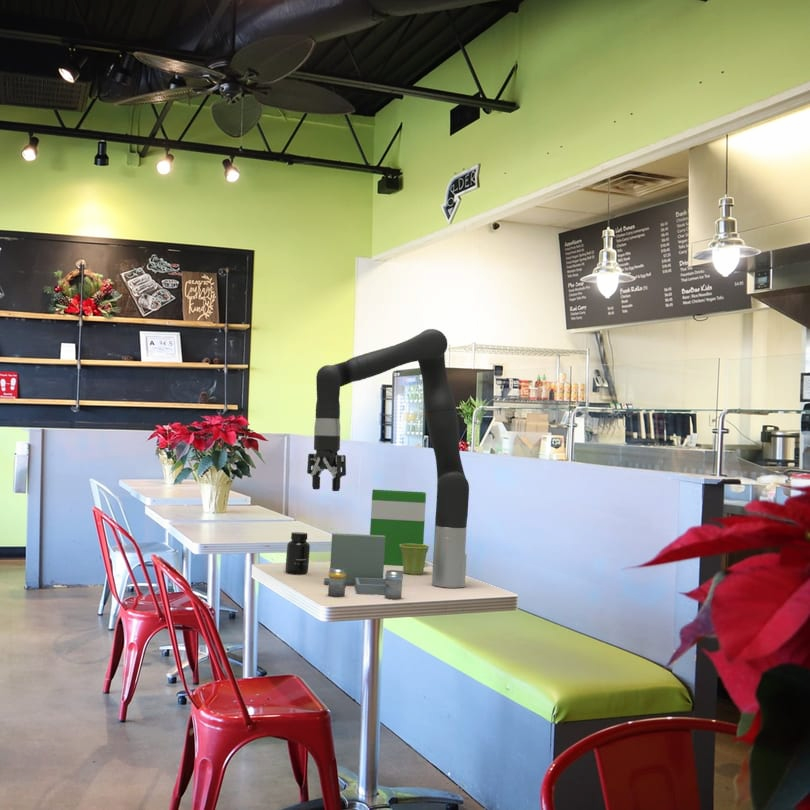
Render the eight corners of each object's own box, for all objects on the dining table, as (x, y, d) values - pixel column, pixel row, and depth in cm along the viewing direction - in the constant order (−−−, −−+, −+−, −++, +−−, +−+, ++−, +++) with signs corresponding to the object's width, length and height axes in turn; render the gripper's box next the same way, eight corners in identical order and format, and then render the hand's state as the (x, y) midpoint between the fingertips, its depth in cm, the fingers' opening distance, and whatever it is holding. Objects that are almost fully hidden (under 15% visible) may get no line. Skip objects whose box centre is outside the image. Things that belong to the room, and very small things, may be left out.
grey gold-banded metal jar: (344, 594, 245) (346, 568, 246) (345, 597, 241) (346, 570, 241) (327, 593, 245) (329, 567, 245) (327, 597, 240) (329, 570, 240)
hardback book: (368, 564, 301) (372, 490, 301) (368, 560, 308) (372, 489, 309) (422, 567, 301) (426, 493, 302) (421, 563, 308) (425, 492, 309)
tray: (393, 588, 259) (394, 579, 259) (397, 595, 248) (397, 586, 248) (354, 586, 258) (355, 577, 258) (356, 593, 247) (357, 584, 247)
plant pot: (401, 575, 281) (403, 547, 282) (395, 570, 291) (396, 543, 291) (431, 576, 284) (432, 547, 284) (423, 571, 293) (425, 543, 293)
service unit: (386, 584, 265) (389, 535, 265) (388, 587, 260) (390, 537, 260) (324, 581, 263) (326, 532, 263) (324, 584, 258) (327, 534, 258)
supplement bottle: (299, 575, 271) (301, 535, 271) (280, 572, 274) (283, 532, 275) (312, 573, 277) (315, 533, 277) (294, 570, 280) (296, 531, 281)
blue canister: (400, 596, 246) (402, 570, 246) (402, 600, 242) (403, 573, 242) (383, 596, 246) (385, 569, 246) (385, 599, 241) (386, 572, 241)
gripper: (353, 435, 265) (352, 491, 264) (320, 433, 275) (319, 488, 274) (333, 434, 259) (332, 492, 259) (301, 433, 269) (300, 489, 269)
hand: (325, 490), depth 266 cm, fingers open, 8 cm apart
